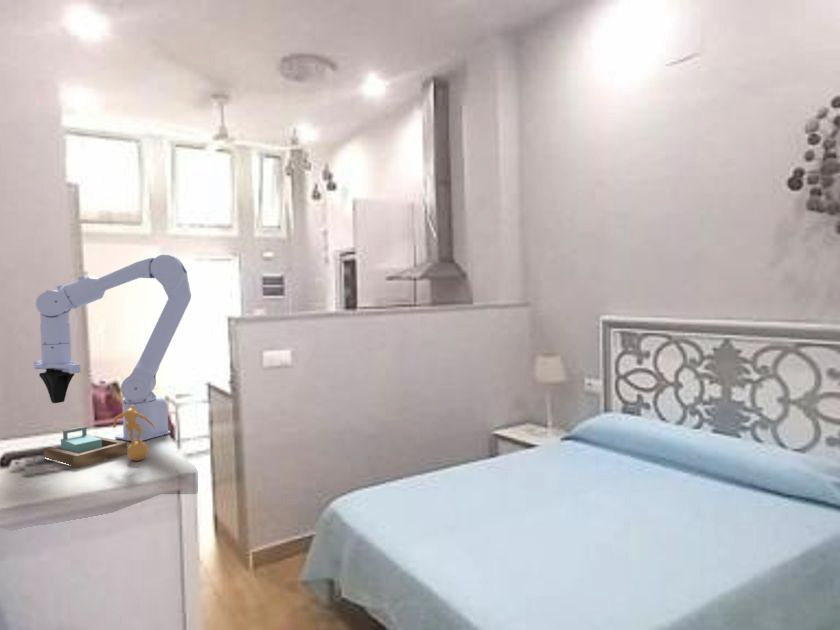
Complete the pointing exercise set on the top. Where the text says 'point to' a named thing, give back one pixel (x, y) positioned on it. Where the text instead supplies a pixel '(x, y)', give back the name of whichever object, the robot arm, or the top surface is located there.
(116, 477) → the top surface
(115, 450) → the dock
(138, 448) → the figurine
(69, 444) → the mint block
